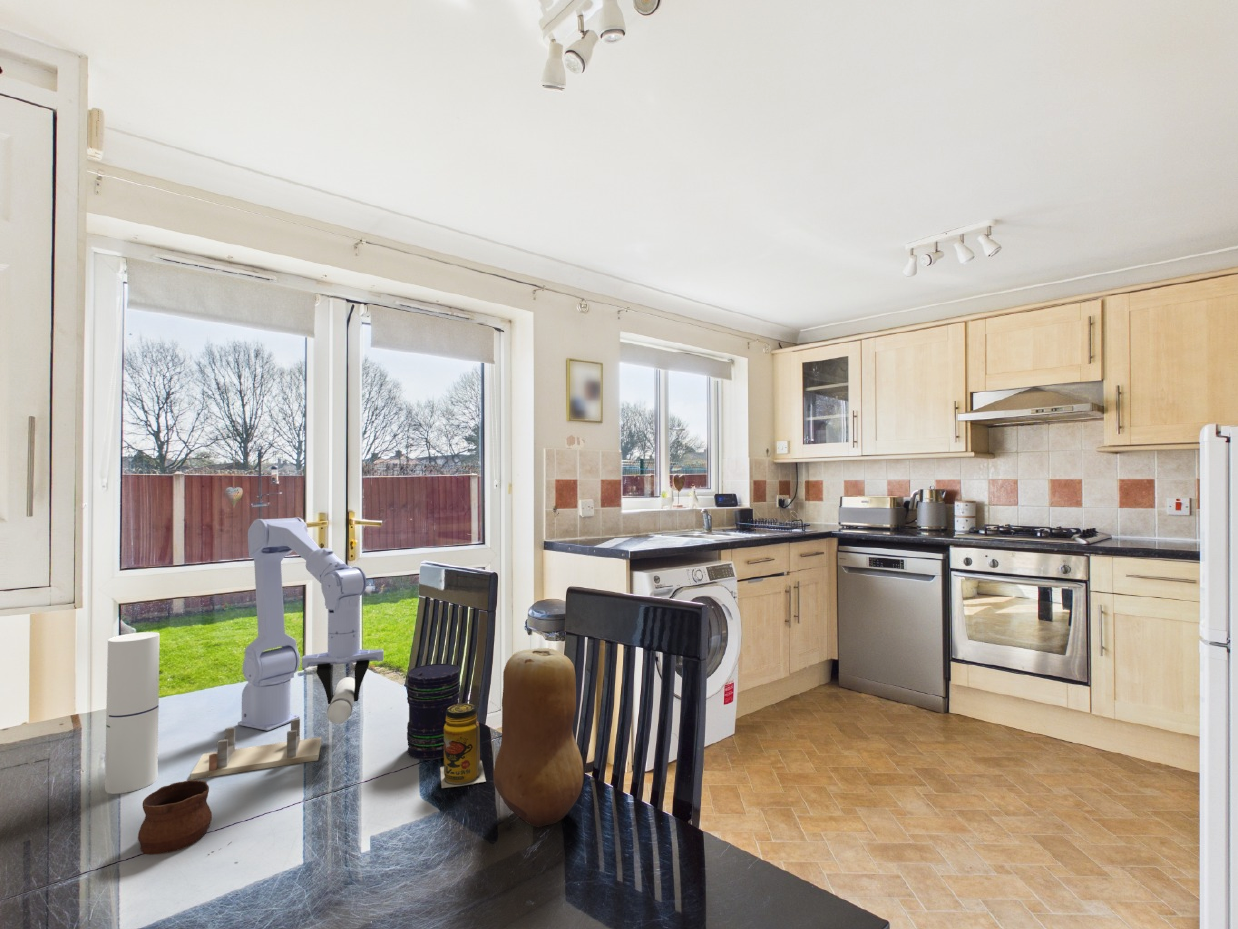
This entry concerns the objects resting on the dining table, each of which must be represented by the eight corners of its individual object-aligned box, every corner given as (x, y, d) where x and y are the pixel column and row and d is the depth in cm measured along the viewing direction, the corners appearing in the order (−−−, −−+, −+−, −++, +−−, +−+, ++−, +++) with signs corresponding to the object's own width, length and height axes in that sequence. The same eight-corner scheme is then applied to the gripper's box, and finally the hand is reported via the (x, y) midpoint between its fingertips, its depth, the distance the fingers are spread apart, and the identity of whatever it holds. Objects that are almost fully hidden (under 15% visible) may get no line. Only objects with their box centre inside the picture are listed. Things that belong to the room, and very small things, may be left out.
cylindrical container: (128, 795, 104) (131, 642, 105) (93, 791, 106) (96, 640, 106) (167, 775, 111) (169, 632, 112) (134, 772, 113) (136, 631, 113)
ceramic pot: (270, 828, 94) (270, 780, 94) (127, 895, 79) (127, 838, 79) (212, 799, 104) (211, 756, 104) (75, 854, 89) (75, 803, 89)
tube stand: (190, 780, 109) (190, 747, 110) (203, 759, 118) (203, 729, 118) (318, 760, 117) (318, 730, 117) (321, 742, 125) (321, 714, 125)
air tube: (336, 698, 130) (336, 677, 130) (358, 696, 131) (358, 675, 131) (326, 725, 115) (326, 702, 115) (351, 722, 116) (351, 700, 116)
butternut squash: (601, 809, 98) (599, 647, 99) (548, 853, 86) (547, 668, 87) (530, 788, 105) (529, 637, 106) (473, 826, 93) (473, 655, 94)
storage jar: (440, 734, 128) (440, 660, 129) (470, 747, 122) (470, 669, 123) (396, 751, 121) (396, 672, 121) (426, 765, 114) (426, 681, 115)
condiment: (441, 789, 105) (441, 716, 106) (440, 768, 113) (440, 700, 114) (486, 783, 107) (485, 711, 108) (481, 762, 115) (481, 696, 116)
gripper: (299, 638, 117) (298, 712, 117) (382, 632, 122) (382, 703, 121) (305, 630, 124) (304, 700, 124) (384, 624, 129) (383, 692, 128)
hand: (343, 701), depth 123 cm, fingers closed on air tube, 4 cm apart
